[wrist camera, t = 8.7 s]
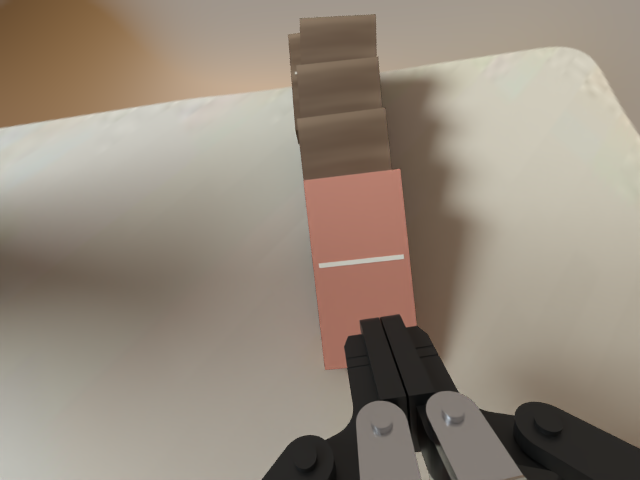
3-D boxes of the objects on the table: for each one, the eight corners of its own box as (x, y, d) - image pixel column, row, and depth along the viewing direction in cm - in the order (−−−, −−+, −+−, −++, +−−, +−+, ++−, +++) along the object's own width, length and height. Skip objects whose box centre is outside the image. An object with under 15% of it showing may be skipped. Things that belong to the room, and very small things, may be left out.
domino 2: (403, 284, 18) (385, 107, 18) (316, 293, 18) (296, 118, 18) (397, 279, 20) (380, 117, 20) (317, 288, 20) (299, 127, 20)
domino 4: (379, 167, 21) (375, 13, 21) (303, 170, 21) (299, 17, 21) (375, 172, 23) (372, 30, 23) (305, 174, 23) (302, 33, 23)
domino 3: (391, 221, 20) (378, 56, 19) (310, 228, 20) (296, 64, 20) (386, 221, 21) (374, 70, 21) (311, 228, 22) (299, 77, 21)
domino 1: (420, 361, 17) (400, 168, 16) (325, 370, 17) (303, 180, 17) (412, 348, 18) (394, 174, 18) (325, 357, 19) (305, 184, 18)
